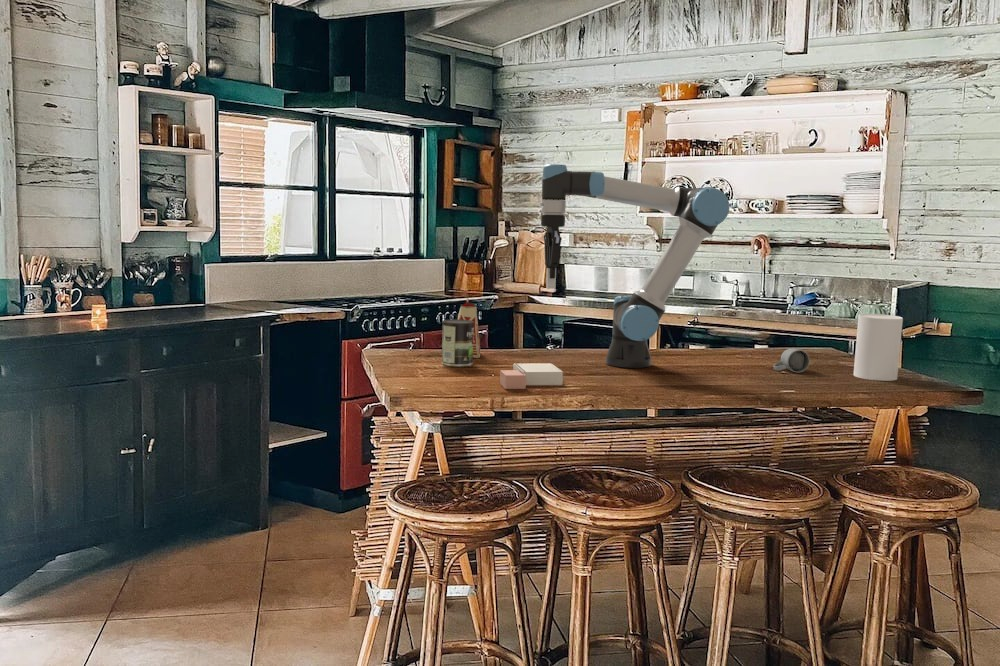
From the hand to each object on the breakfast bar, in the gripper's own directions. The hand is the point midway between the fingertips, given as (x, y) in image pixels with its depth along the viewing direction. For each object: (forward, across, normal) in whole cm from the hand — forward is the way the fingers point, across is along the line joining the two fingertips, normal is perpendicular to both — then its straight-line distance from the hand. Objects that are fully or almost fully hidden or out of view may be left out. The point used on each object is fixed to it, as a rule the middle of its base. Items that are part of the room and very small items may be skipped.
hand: (550, 288), depth 313 cm
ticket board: (+26, +19, -8) cm, 33 cm away
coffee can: (+26, -10, -28) cm, 40 cm away
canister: (+27, +17, +107) cm, 111 cm away
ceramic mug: (+27, +5, +82) cm, 87 cm away
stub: (+26, +27, -18) cm, 42 cm away
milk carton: (+26, -28, -22) cm, 44 cm away
